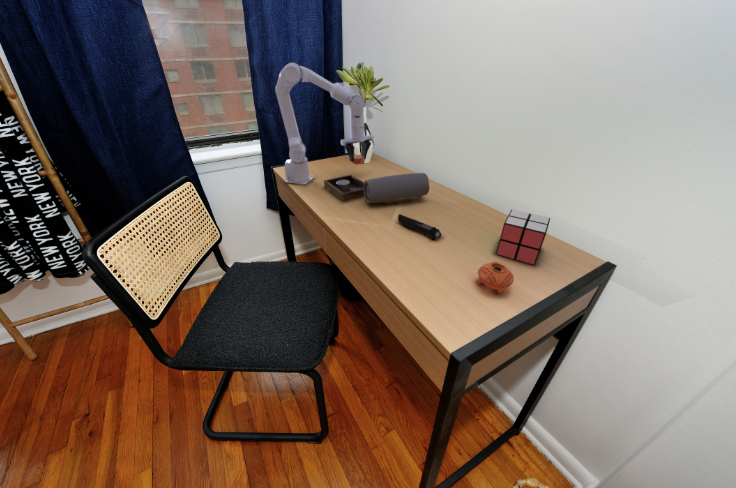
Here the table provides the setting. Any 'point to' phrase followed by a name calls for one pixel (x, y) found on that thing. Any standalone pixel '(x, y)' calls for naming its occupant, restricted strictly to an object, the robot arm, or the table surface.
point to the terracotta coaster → (358, 159)
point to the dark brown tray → (349, 194)
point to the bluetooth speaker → (396, 188)
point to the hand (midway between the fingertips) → (357, 159)
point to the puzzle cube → (523, 236)
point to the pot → (495, 276)
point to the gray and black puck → (343, 184)
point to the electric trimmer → (420, 226)
